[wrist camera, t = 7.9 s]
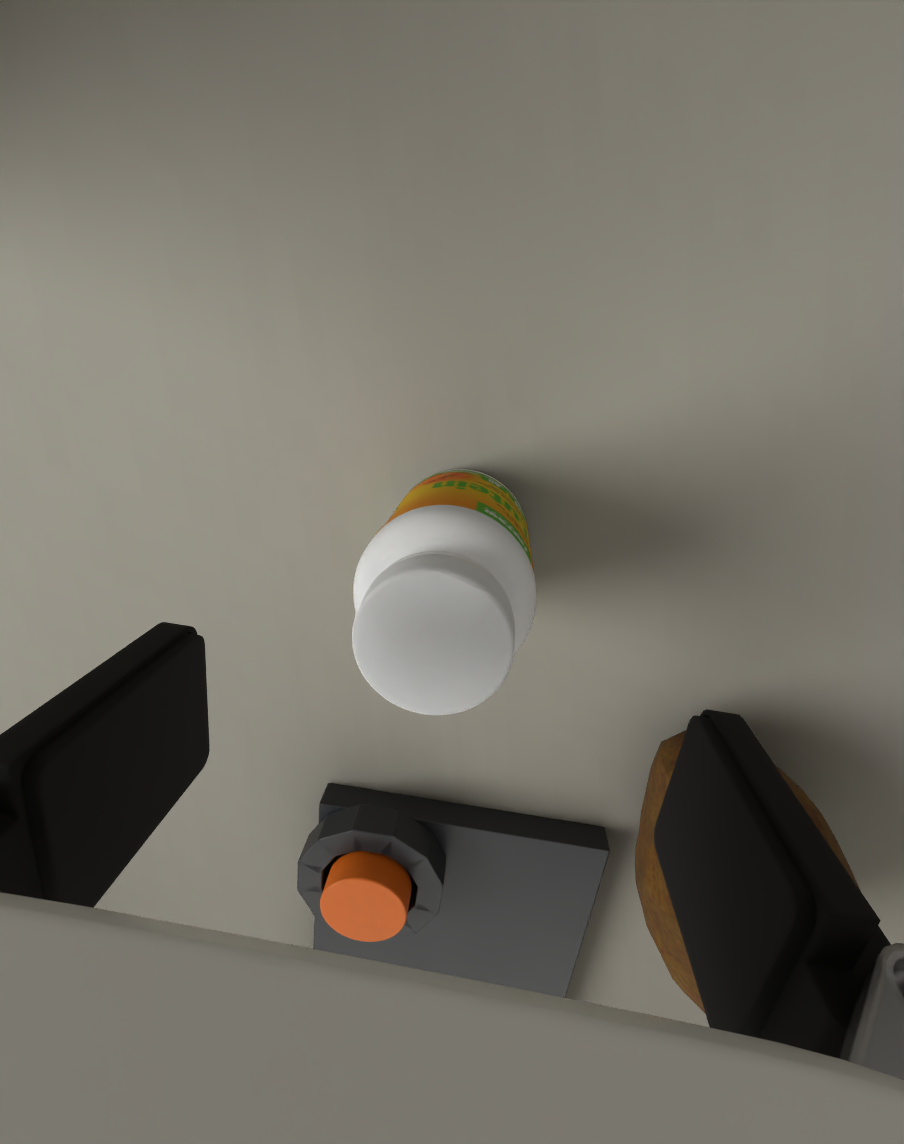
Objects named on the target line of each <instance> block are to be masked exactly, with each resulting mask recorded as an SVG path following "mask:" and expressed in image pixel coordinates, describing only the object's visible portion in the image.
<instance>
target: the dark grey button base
mask: <svg viewBox="0 0 904 1144" xmlns="http://www.w3.org/2000/svg"><path fill="white" fill-rule="evenodd" d="M355 851H367V852H373V853H379V854H385V855H387V856H388V857H390V858H391V859H393V860H395V861H396V862H398V863H399V864H401V865H402V866H403V867H404V868H405V870H406V871H407V872H408V874H409V876H410V880H411V884H412V891H411V896H410V902H409V908H408V914H407V919H406V922H405V925H404V926H403V928H402V929H401V930H400V931H399V933H397V934H396V935H395V936H393V937H391V938H389V939H386V940H383V941H377V942H364V941H358V940H354V939H351V938H348V937H346V936H343V935H342V934H340V933H338V932H337V931H335V930H334V929H333V928H331V927H330V926H329V925H328V923H327V922H326V921H325V919H324V918H323V916H322V913H321V909H320V899H321V896H322V893H323V890H324V887H325V884H326V881H327V878H328V875H329V872H330V869H331V867H332V865H333V864H334V863H335V862H336V861H337V860H338V859H339V858H340V857H342V856H343V855H345V854H347V853H351V852H355ZM609 851H610V850H609V845H608V841H607V836H606V832H605V828H603V827H597V826H591V825H584V824H578V823H572V822H566V821H560V820H553V819H547V818H541V817H535V816H528V815H522V814H516V813H510V812H504V811H497V810H491V809H485V808H479V807H473V806H466V805H460V804H454V803H448V802H442V801H435V800H429V799H423V798H417V797H410V796H404V795H398V794H392V793H386V792H379V791H373V790H367V789H361V788H355V787H348V786H342V785H336V784H330V783H328V785H327V787H326V789H325V792H324V794H323V797H322V799H321V801H320V805H319V824H318V825H317V827H316V828H315V829H314V830H313V831H312V832H311V833H310V834H309V836H308V839H307V841H306V844H305V846H304V848H303V851H302V853H301V856H300V858H299V861H298V883H297V889H298V892H299V893H300V895H301V896H302V897H303V899H304V900H305V902H306V903H307V905H308V906H309V908H310V909H311V911H312V912H313V914H314V915H315V924H314V948H313V949H316V950H322V951H327V952H332V953H337V954H342V955H348V956H353V957H358V958H363V959H369V960H374V961H379V962H384V963H389V964H395V965H400V966H405V967H410V968H415V969H420V970H426V971H431V972H436V973H441V974H446V975H452V976H457V977H462V978H467V979H472V980H477V981H482V982H487V983H492V984H497V985H503V986H508V987H513V988H518V989H523V990H528V991H533V992H538V993H543V994H548V995H553V996H558V997H563V998H565V996H566V992H567V989H568V986H569V983H570V979H571V976H572V973H573V970H574V966H575V963H576V960H577V956H578V953H579V950H580V947H581V943H582V940H583V937H584V933H585V930H586V927H587V924H588V920H589V917H590V914H591V910H592V907H593V904H594V901H595V897H596V894H597V891H598V888H599V884H600V881H601V878H602V874H603V871H604V868H605V865H606V861H607V858H608V855H609Z"/></svg>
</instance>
